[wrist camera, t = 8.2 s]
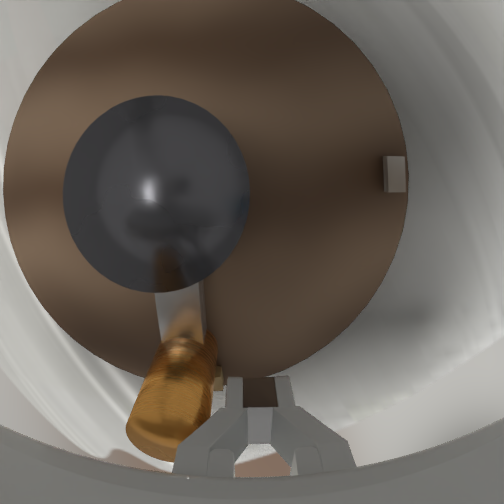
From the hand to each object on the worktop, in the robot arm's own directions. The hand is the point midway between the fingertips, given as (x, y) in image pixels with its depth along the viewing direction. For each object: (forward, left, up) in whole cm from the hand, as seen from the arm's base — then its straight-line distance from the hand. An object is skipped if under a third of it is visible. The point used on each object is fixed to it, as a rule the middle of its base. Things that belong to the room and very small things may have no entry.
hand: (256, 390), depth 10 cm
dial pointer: (-4, -2, -3) cm, 6 cm away
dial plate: (-7, -2, -4) cm, 8 cm away
